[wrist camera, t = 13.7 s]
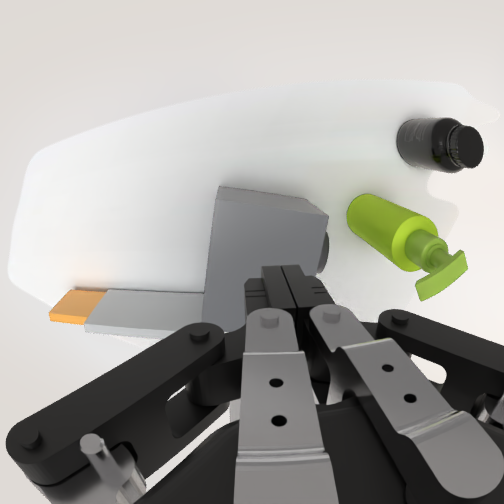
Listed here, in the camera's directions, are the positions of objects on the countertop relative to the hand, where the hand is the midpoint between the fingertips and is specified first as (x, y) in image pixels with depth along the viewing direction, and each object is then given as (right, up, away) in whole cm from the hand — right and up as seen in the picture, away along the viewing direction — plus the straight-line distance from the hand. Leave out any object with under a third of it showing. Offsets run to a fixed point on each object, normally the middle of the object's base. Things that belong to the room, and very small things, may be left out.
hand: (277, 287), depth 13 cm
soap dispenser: (+14, +6, +28) cm, 32 cm away
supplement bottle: (+22, +17, +25) cm, 37 cm away
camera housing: (-1, +2, +29) cm, 29 cm away
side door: (-17, -5, +29) cm, 34 cm away
